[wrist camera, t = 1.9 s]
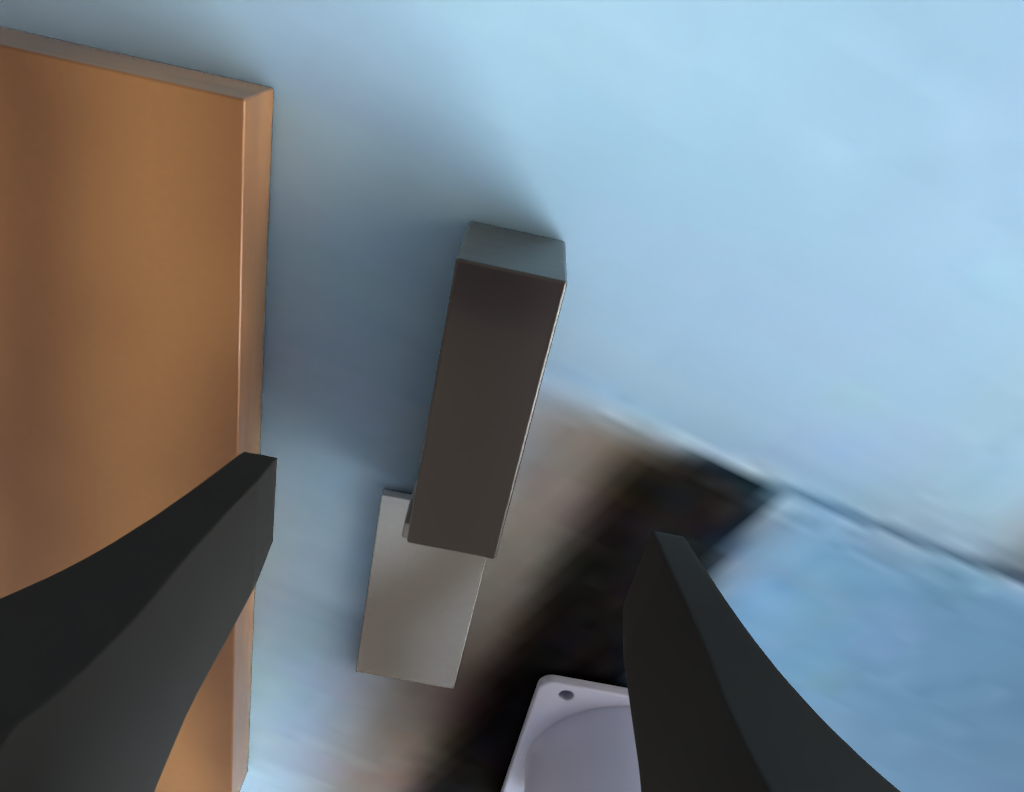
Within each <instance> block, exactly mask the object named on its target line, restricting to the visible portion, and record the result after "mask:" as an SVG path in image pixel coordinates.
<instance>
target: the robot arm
mask: <svg viewBox="0 0 1024 792" xmlns="http://www.w3.org/2000/svg"><path fill="white" fill-rule="evenodd" d="M276 467H277V458H274V457H269V456H264V455H259V454H254V453H248V452H243V453H241V454H240V455H238V456H237V457H235V458H234V459H233V460H231V461H230V462H229V463H227V464H226V465H225V466H223V467H222V468H221V469H219V470H218V471H217V472H215V473H214V474H213V475H211V476H210V477H209V478H207V479H206V480H205V481H203V482H202V483H201V484H199V485H198V486H197V487H195V488H194V489H193V490H191V491H190V492H189V493H187V494H186V495H184V496H183V497H181V498H180V499H179V500H177V501H176V502H174V503H173V504H171V505H170V506H169V507H167V508H166V509H164V510H163V511H161V512H160V513H159V514H157V515H156V516H154V517H153V518H151V519H150V520H148V521H146V522H145V523H143V524H142V525H140V526H138V527H137V528H135V529H134V530H132V531H131V532H129V533H127V534H126V535H124V536H123V537H121V538H119V539H118V540H116V541H115V542H113V543H111V544H110V545H108V546H106V547H104V548H103V549H101V550H99V551H98V552H96V553H94V554H92V555H90V556H89V557H87V558H85V559H83V560H81V561H79V562H78V563H76V564H74V565H72V566H70V567H68V568H66V569H64V570H62V571H60V572H58V573H56V574H54V575H52V576H50V577H48V578H46V579H43V580H41V581H39V582H37V583H34V584H32V585H30V586H28V587H25V588H23V589H21V590H19V591H16V592H14V593H12V594H10V595H8V596H5V597H3V598H1V599H0V792H154V791H155V789H156V786H157V784H158V781H159V779H160V776H161V774H162V771H163V769H164V766H165V764H166V762H167V759H168V757H169V755H170V752H171V750H172V748H173V745H174V743H175V741H176V738H177V736H178V734H179V731H180V729H181V726H182V724H183V722H184V719H185V717H186V715H187V713H188V711H189V709H190V707H191V705H192V703H193V701H194V699H195V697H196V695H197V693H198V691H199V689H200V687H201V685H202V683H203V682H204V680H205V678H206V676H207V674H208V672H209V671H210V669H211V667H212V665H213V663H214V661H215V660H216V658H217V656H218V654H219V652H220V650H221V649H222V647H223V645H224V643H225V641H226V639H227V638H228V636H229V634H230V632H231V630H232V629H233V627H234V625H235V623H236V621H237V619H238V617H239V616H240V614H241V612H242V610H243V608H244V606H245V604H246V603H247V601H248V599H249V597H250V595H251V593H252V591H253V589H254V587H255V585H256V582H257V580H258V577H259V575H260V572H261V570H262V567H263V565H264V562H265V560H266V557H267V554H268V552H269V549H270V547H271V544H272V541H273V526H274V506H275V487H276ZM623 657H624V665H625V673H626V680H627V687H628V688H625V687H619V686H614V685H608V684H603V683H597V682H592V681H586V680H581V679H575V678H570V677H564V676H559V675H546V676H543V677H542V678H540V679H539V681H538V683H537V686H536V689H535V692H534V695H533V698H532V701H531V703H530V706H529V709H528V712H527V715H526V718H525V721H524V724H523V727H522V730H521V733H520V736H519V739H518V742H517V745H516V748H515V751H514V754H513V756H512V759H511V762H510V765H509V768H508V771H507V774H506V777H505V780H504V783H503V786H502V789H501V792H900V791H899V790H898V789H897V788H895V787H894V786H893V785H892V784H891V783H890V782H888V781H887V780H886V779H885V778H884V777H883V776H881V775H880V774H879V773H878V772H877V771H876V770H875V769H874V768H872V767H871V766H870V765H869V764H868V763H867V762H866V761H865V760H863V759H862V758H861V757H860V756H859V755H858V754H857V753H856V752H855V751H854V750H853V749H852V748H851V747H850V746H849V745H848V744H847V743H846V742H845V741H844V740H843V739H842V738H840V737H839V736H838V735H837V734H836V733H835V732H834V731H833V730H832V729H831V728H830V727H829V726H828V725H827V724H826V723H825V722H824V721H823V720H822V719H821V718H820V717H819V716H818V715H817V714H816V712H815V711H814V710H813V709H812V708H811V707H810V706H809V705H808V704H807V703H806V701H805V700H804V699H803V698H802V697H801V696H800V695H799V694H798V693H797V692H796V690H795V689H794V688H793V687H792V686H791V685H790V684H789V683H788V681H787V680H786V679H785V678H784V677H783V676H782V674H781V673H780V672H779V671H778V670H777V668H776V667H775V666H774V665H773V663H772V662H771V661H770V660H769V658H768V657H767V656H766V655H765V653H764V652H763V651H762V649H761V648H760V647H759V646H758V644H757V643H756V642H755V641H754V639H753V638H752V637H751V635H750V634H749V632H748V631H747V630H746V628H745V627H744V626H743V624H742V623H741V622H740V620H739V619H738V617H737V616H736V615H735V613H734V612H733V610H732V609H731V607H730V606H729V605H728V603H727V602H726V600H725V599H724V597H723V596H722V594H721V593H720V591H719V590H718V588H717V587H716V585H715V584H714V582H713V581H712V579H711V578H710V576H709V575H708V573H707V572H706V570H705V569H704V567H703V565H702V564H701V562H700V561H699V559H698V558H697V556H696V555H695V553H694V552H693V550H692V549H691V547H690V545H689V544H688V542H687V541H686V540H685V538H684V537H682V536H677V535H672V534H667V533H661V532H656V531H653V532H652V534H651V537H650V539H649V542H648V544H647V547H646V549H645V552H644V554H643V557H642V559H641V562H640V564H639V567H638V569H637V572H636V574H635V577H634V579H633V582H632V584H631V587H630V589H629V592H628V594H627V597H626V599H625V602H624V604H623ZM564 690H568V691H564Z"/></svg>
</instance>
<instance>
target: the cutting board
mask: <svg viewBox="0 0 1024 792" xmlns="http://www.w3.org/2000/svg"><path fill="white" fill-rule="evenodd" d="M272 116H273V89H272V88H271V87H266V86H262V85H257V84H253V83H248V82H244V81H240V80H235V79H231V78H226V77H222V76H217V75H213V74H209V73H204V72H200V71H195V70H191V69H186V68H182V67H177V66H173V65H169V64H164V63H160V62H155V61H151V60H146V59H142V58H138V57H133V56H129V55H124V54H120V53H115V52H111V51H106V50H102V49H98V48H93V47H89V46H84V45H80V44H75V43H71V42H66V41H62V40H58V39H53V38H49V37H44V36H40V35H35V34H31V33H27V32H22V31H18V30H13V29H9V28H4V27H0V599H1V598H3V597H5V596H8V595H10V594H12V593H14V592H16V591H19V590H21V589H23V588H25V587H28V586H30V585H32V584H34V583H37V582H39V581H41V580H43V579H46V578H48V577H50V576H52V575H54V574H56V573H58V572H60V571H62V570H64V569H66V568H68V567H70V566H72V565H74V564H76V563H78V562H79V561H81V560H83V559H85V558H87V557H89V556H90V555H92V554H94V553H96V552H98V551H99V550H101V549H103V548H104V547H106V546H108V545H110V544H111V543H113V542H115V541H116V540H118V539H119V538H121V537H123V536H124V535H126V534H127V533H129V532H131V531H132V530H134V529H135V528H137V527H138V526H140V525H142V524H143V523H145V522H146V521H148V520H150V519H151V518H153V517H154V516H156V515H157V514H159V513H160V512H161V511H163V510H164V509H166V508H167V507H169V506H170V505H171V504H173V503H174V502H176V501H177V500H179V499H180V498H181V497H183V496H184V495H186V494H187V493H189V492H190V491H191V490H193V489H194V488H195V487H197V486H198V485H199V484H201V483H202V482H203V481H205V480H206V479H207V478H209V477H210V476H211V475H213V474H214V473H215V472H217V471H218V470H219V469H221V468H222V467H223V466H225V465H226V464H227V463H229V462H230V461H231V460H233V459H234V458H235V457H237V456H238V455H240V454H241V453H243V452H248V453H254V454H259V455H260V435H261V408H262V382H263V355H264V328H265V302H266V275H267V249H268V222H269V196H270V169H271V143H272ZM254 594H255V587H254V589H253V591H252V593H251V595H250V597H249V599H248V601H247V603H246V604H245V606H244V608H243V610H242V612H241V614H240V616H239V617H238V619H237V621H236V623H235V625H234V627H233V629H232V630H231V632H230V634H229V636H228V638H227V639H226V641H225V643H224V645H223V647H222V649H221V650H220V652H219V654H218V656H217V658H216V660H215V661H214V663H213V665H212V667H211V669H210V671H209V672H208V674H207V676H206V678H205V680H204V682H203V683H202V685H201V687H200V689H199V691H198V693H197V695H196V697H195V699H194V701H193V703H192V705H191V707H190V709H189V711H188V713H187V715H186V717H185V719H184V722H183V724H182V726H181V729H180V731H179V734H178V736H177V738H176V741H175V743H174V745H173V748H172V750H171V752H170V755H169V757H168V759H167V762H166V764H165V766H164V769H163V771H162V774H161V776H160V779H159V781H158V784H157V786H156V789H155V791H154V792H240V790H241V787H242V785H243V782H244V779H245V777H246V774H247V772H248V753H249V727H250V700H251V674H252V647H253V621H254Z"/></svg>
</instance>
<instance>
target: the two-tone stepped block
mask: <svg viewBox="0 0 1024 792" xmlns="http://www.w3.org/2000/svg"><path fill="white" fill-rule="evenodd" d="M566 286H567V273H566V252H565V242H564V241H561V240H556V239H551V238H547V237H542V236H538V235H533V234H528V233H524V232H519V231H515V230H510V229H506V228H501V227H496V226H492V225H487V224H483V223H478V222H473V221H471V222H469V224H468V226H467V229H466V232H465V235H464V238H463V241H462V244H461V247H460V250H459V252H458V255H457V258H456V262H455V268H454V273H453V279H452V285H451V290H450V296H449V302H448V308H447V313H446V319H445V325H444V330H443V336H442V342H441V347H440V353H439V359H438V365H437V370H436V376H435V382H434V387H433V393H432V399H431V405H430V410H429V416H428V422H427V427H426V433H425V439H424V444H423V450H422V456H421V462H420V467H419V473H418V479H417V480H416V482H415V484H414V488H413V491H412V495H411V494H406V493H401V492H396V491H391V490H386V489H384V490H383V492H382V495H381V502H380V509H379V516H378V523H377V529H376V536H375V543H374V550H373V557H372V564H371V571H370V577H369V584H368V591H367V598H366V605H365V612H364V618H363V625H362V632H361V639H360V646H359V653H358V659H357V666H356V672H362V673H367V674H373V675H378V676H384V677H390V678H395V679H401V680H406V681H412V682H418V683H423V684H429V685H434V686H440V687H446V688H451V689H453V688H454V686H455V682H456V678H457V674H458V670H459V666H460V662H461V658H462V654H463V650H464V646H465V642H466V638H467V634H468V630H469V626H470V622H471V618H472V614H473V610H474V606H475V603H476V599H477V595H478V591H479V587H480V583H481V579H482V575H483V571H484V567H485V563H486V559H487V558H492V559H494V558H495V557H496V555H497V551H498V547H499V543H500V539H501V535H502V532H503V528H504V524H505V520H506V516H507V512H508V509H509V505H510V501H511V497H512V493H513V489H514V486H515V482H516V478H517V474H518V470H519V466H520V463H521V459H522V455H523V451H524V447H525V443H526V440H527V436H528V432H529V428H530V424H531V420H532V417H533V413H534V409H535V405H536V401H537V397H538V394H539V390H540V386H541V382H542V378H543V374H544V371H545V367H546V363H547V359H548V355H549V351H550V348H551V344H552V340H553V336H554V332H555V328H556V325H557V321H558V317H559V313H560V309H561V305H562V302H563V298H564V294H565V290H566Z"/></svg>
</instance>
